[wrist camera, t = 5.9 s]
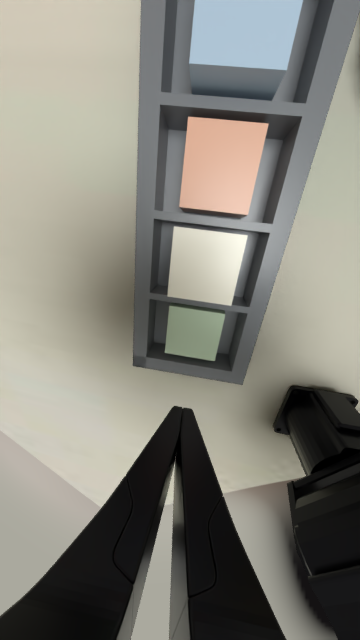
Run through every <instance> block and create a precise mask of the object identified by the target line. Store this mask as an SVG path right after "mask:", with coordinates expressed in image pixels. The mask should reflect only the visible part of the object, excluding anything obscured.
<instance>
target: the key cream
mask: <svg viewBox="0 0 360 640" xmlns="http://www.w3.org/2000/svg"><path fill="white" fill-rule="evenodd" d="M247 237H248V235H241V234H233V233H225V232H217V231H208V230H200V229H192V228H184V227H176V226H174V230H173V241H172V252H171V263H170V273H169V284H168V295H167V296H168V297H175V298H181V299H188V300H195V301H202V302H208V303H215V304H222V305H229V306H231V305H232V301H233V296H234V292H235V288H236V284H237V279H238V275H239V271H240V267H241V262H242V258H243V254H244V250H245V245H246V241H247Z"/></svg>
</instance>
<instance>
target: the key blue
mask: <svg viewBox="0 0 360 640" xmlns="http://www.w3.org/2000/svg"><path fill="white" fill-rule="evenodd" d="M302 3H303V0H195V5H194V16H193V27H192V37H191V48H190V59H189V68H190V79H191V89H192V94H193V95H205V96H218V97H230V98H243V99H255V100H268V101H272V99H273V97H274V95H275V93H276V91H277V89H278V87H279V85H280V83H281V81H282V79H283V77H284V75H285V73H286V71H287V67H288V63H289V58H290V54H291V50H292V46H293V41H294V37H295V33H296V29H297V24H298V20H299V16H300V12H301V7H302Z"/></svg>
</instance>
